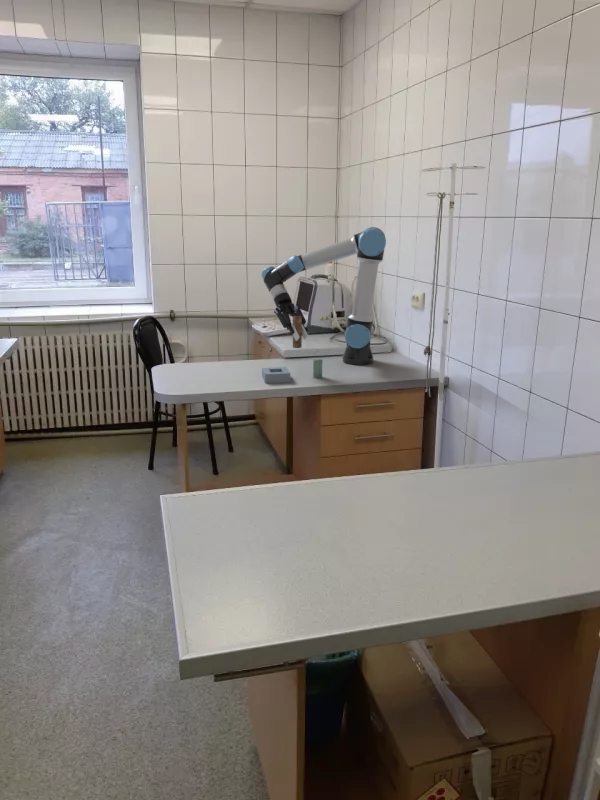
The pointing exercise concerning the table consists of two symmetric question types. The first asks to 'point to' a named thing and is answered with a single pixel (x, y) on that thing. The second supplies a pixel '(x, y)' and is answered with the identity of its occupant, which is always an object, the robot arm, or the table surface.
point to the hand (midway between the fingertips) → (302, 338)
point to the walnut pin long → (298, 326)
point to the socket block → (276, 375)
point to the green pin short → (317, 368)
